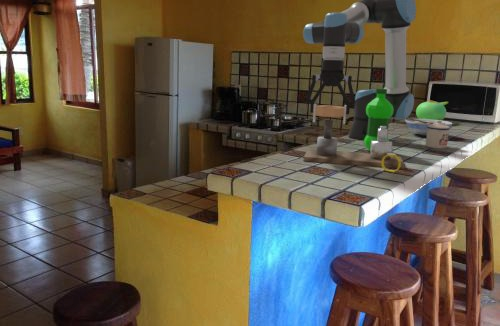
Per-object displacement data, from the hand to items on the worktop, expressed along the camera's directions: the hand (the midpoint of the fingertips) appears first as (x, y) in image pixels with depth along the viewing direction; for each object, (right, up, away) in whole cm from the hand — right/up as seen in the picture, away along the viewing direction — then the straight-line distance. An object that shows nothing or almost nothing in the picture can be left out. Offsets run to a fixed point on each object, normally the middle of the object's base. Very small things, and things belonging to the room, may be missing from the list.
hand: (328, 122), depth 157 cm
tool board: (+9, -14, +1) cm, 16 cm away
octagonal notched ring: (0, +3, -1) cm, 3 cm away
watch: (+17, -18, -15) cm, 29 cm away
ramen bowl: (+63, -1, +68) cm, 92 cm away
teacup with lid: (+54, -8, +35) cm, 65 cm away
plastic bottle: (+23, -10, +20) cm, 31 cm away
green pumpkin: (+88, +11, +123) cm, 151 cm away
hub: (+18, -13, -2) cm, 22 cm away
